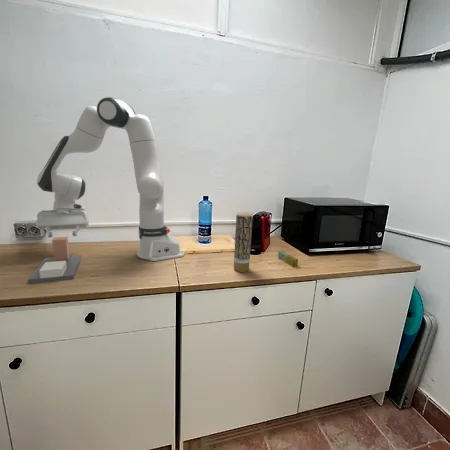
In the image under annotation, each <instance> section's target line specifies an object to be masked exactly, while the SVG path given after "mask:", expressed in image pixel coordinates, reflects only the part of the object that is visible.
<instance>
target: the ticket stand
mask: <svg viewBox="0 0 450 450" xmlns="http://www.w3.org/2000/svg"><path fill="white" fill-rule="evenodd" d="M81 261H82V255H70V257H69V258H68V260H55V261H54V257H45V258H44V259H43V260H42V261H41V263H40V264H39V266H38V267H37V268H36V270H35V271H34V272H33V273H32V274H31V276H30V277H29V278H28V283H29V284H36V283H44V282H45V283H47V282H57V281H65V280H74V279H75V276H76V274H77V271H78V269H79V267H80V264H81Z"/></svg>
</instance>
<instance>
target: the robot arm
mask: <svg viewBox="0 0 450 450" xmlns="http://www.w3.org/2000/svg"><path fill="white" fill-rule="evenodd" d="M151 123H152V122H151V121H150V118H148V117H147V116H146V115H144V114H139V113H138V114H136V112H135V110H134V109H133V107H131V106H130V105H129V104H127V103H125V101H123V100H121V99H118V98H115V97H111V96H108V97H104V98H102V99H100V100H99V101H98V102H97V105H96V106H94V105H88V106H86V107H85V108H84V110H83V111H82V113H81V115H80V117H79V119H78V121H77V124H76V126H75V129H74V131H73V132H72V133H70V134H69V135H64V136H63V137H62V138H61V139H60V140H59V142H58V143H57V145H56V146H55V149H54V150H53V152H52V154H51V155H50V157H49V159H48V161H47V162H46V164H45V165H44V167H43V168H42V169H41V171H40V172H39V174H38V176H37V180H36V184H37V186H38V187H39V188H40V189H41V190H42V191H43V192H49V193H54V201H53V208H52V209H49V210H43V209H42V210H40V211H39V212H38V213H37V215H36V222H35V226H36V228H37V229H38V230H40V231H42V230H45V231H46V233H47V238H53V232H52V231H51V230H61V229H62V230H64V229H74V230H72V237H77V236H78V232H79V231H80V230H81V229H82V228H83V229H85V228H88V227H89V226H90V225H89V218H88V214H87V212H86V207H85V206H84V205H82V204H78V203H76V201H77V200H79V199H81V198H83V196H84V195H85V193H86V181H85V180H84V178H82V177H80V176H77V175H73V174H70V173H65V172H62V171H60V170H58V168H59V167H60V165H61V163H62V162H63V161H64V158H65V157H66V156H68V155H70V154H73V153H74V154H76V153H77V154H78V153H81V154H84V153H85V154H86V153H92V152H95V151H97V150H98V149H100V147H101V145H102V143H103V140H104V138H105V135H106V132H107V130H108V129H109V128H111V127H113V128H117V129H122V130H123V129H124V130H125V131H126V134H127V137H128V141H129V146H130V151H131V155H132V156H131V157H132V162H133V168H134V170H133V171H134V176H135V177H134V178H135V183H136V184H135V185H136V187H137V192H138V193H139V209H138V211H139V213H138V214H139V218H138V219H139V226H138V237H139V243H138V250H137V253H136V256H137V257H138V258H140V259H144V260H148V261H151V262H157V261H164V260H170V259H176V258H177V259H178V258H182V257H184V256H185V251H184V252H180V248H181V246H180V242H179V241H178V239H177V238H176V237H174V236H173V235H171V234H170V232H171V230H170V229H171V228H169V227H168V226H167V225H165V223H164V221H165V220H164V219H165V218H164V215H165V213H164V207H165V205H164V200H165V199H164V198H165V197H164V181H163V179H162V177H163V176H162V170H161V165H160V159H159V152H158V148H157V147H158V146H157V143H156V142H157V141H156V136H155V133H154V129H153V126H152V124H151Z"/></svg>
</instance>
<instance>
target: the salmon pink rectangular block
mask: <svg viewBox="0 0 450 450" xmlns="http://www.w3.org/2000/svg"><path fill="white" fill-rule="evenodd" d="M52 238H53V239H52V240H51V241H52V250H53V258H54V261H55V260H68V258H69V257H70V256H71V255H70V248H69V247H70V246H69V239H68V238H69V237H68V236H60V237H59V236H58V237H54V236H53V237H52Z"/></svg>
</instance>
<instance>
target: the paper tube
mask: <svg viewBox="0 0 450 450" xmlns="http://www.w3.org/2000/svg"><path fill="white" fill-rule="evenodd" d="M235 216H236V217H235V234H234V250H233V251H234V253H233V254H234V255H233V269H234V270H235V271H236V272H240V273H246V272H248V271H249V269H250V261H251V260H250V259H251V247H252V246H251V245H252V232H253V231H252V230H253V218H254V215H253V212H252V213H251V212H246V211H238V212H236V215H235Z"/></svg>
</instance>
